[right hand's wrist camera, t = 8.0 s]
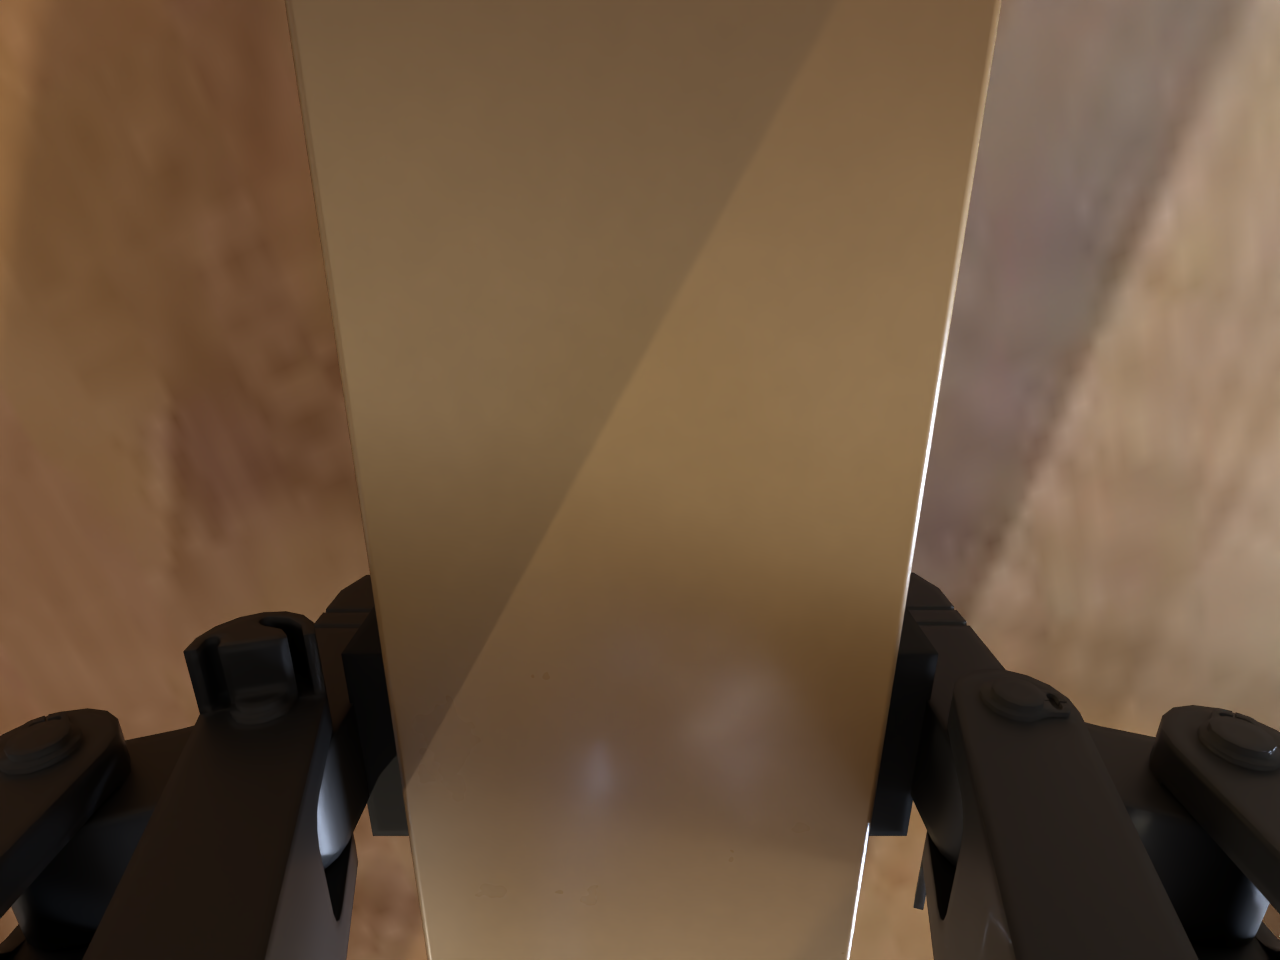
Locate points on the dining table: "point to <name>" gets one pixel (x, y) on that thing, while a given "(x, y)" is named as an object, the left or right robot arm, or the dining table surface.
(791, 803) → the board
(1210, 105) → the dining table surface
